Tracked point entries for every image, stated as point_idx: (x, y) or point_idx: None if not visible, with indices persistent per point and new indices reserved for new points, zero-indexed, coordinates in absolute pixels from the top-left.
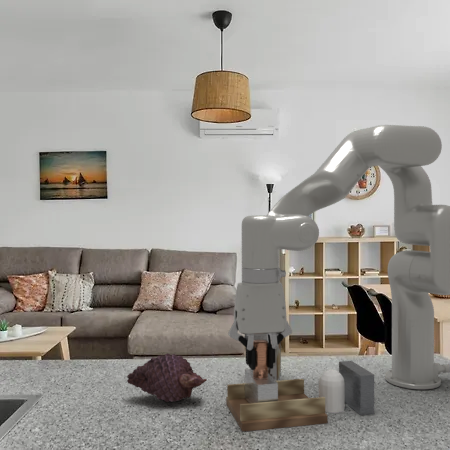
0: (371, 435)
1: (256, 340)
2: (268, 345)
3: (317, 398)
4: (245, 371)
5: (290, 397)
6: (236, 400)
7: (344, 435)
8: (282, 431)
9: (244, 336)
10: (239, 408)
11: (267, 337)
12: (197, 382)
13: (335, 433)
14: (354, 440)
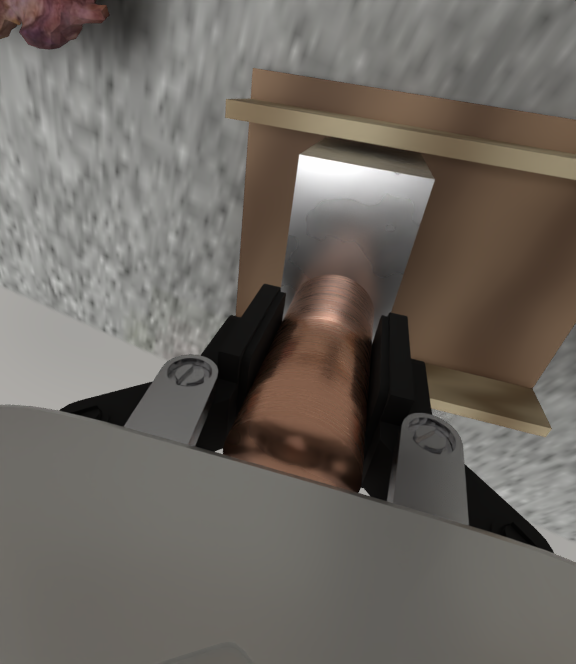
0: (550, 486)
1: (268, 432)
2: (371, 456)
3: (512, 427)
4: (298, 174)
5: (543, 211)
6: (283, 141)
7: (485, 456)
8: None
9: (130, 420)
10: (264, 232)
11: (394, 473)
12: (55, 48)
13: (473, 440)
14: (483, 480)
